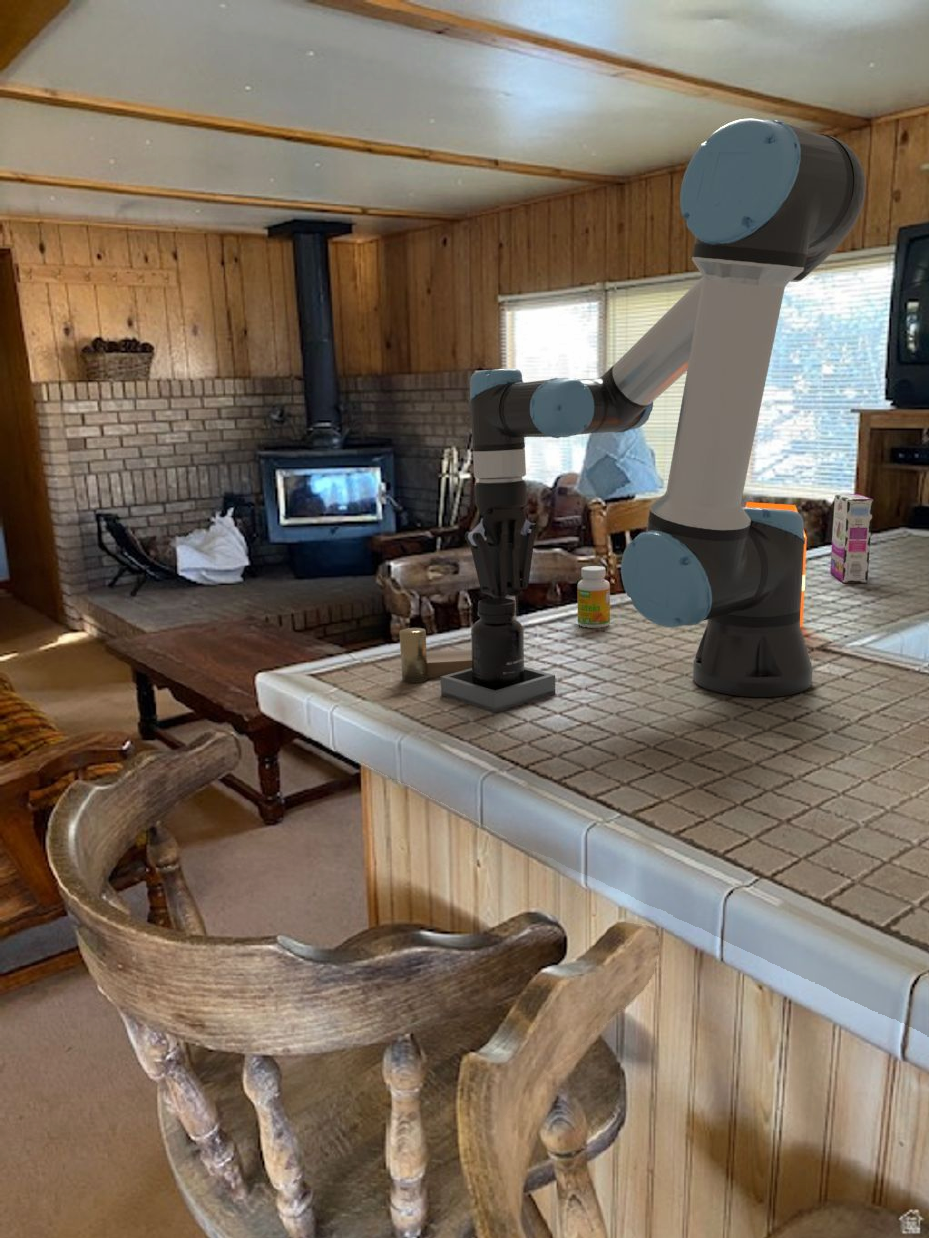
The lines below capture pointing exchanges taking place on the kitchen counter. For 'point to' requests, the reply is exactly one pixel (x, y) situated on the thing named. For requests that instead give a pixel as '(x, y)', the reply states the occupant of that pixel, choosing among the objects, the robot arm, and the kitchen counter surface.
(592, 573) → the supplement bottle
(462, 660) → the tan cardboard box
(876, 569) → the kitchen counter surface
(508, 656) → the supplement bottle
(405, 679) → the cylinder
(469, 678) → the tray
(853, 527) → the candy bar box
